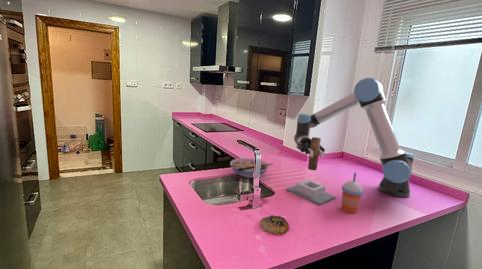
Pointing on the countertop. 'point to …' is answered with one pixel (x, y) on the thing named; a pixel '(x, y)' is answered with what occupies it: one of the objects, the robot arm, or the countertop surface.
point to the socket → (311, 192)
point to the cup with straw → (351, 195)
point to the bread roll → (274, 225)
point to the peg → (314, 153)
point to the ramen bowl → (247, 167)
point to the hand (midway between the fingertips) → (317, 154)
